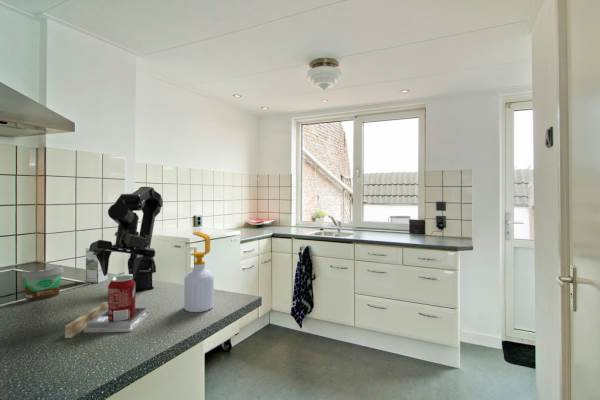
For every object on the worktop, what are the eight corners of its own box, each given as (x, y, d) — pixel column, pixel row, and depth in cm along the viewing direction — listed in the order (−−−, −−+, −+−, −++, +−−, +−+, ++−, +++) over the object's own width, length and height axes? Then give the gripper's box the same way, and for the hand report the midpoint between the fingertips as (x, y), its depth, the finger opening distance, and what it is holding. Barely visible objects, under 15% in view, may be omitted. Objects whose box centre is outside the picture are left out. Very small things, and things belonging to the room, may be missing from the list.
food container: (28, 303, 106) (27, 273, 106) (20, 300, 110) (20, 271, 110) (70, 294, 117) (70, 266, 117) (62, 291, 120) (62, 264, 120)
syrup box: (108, 279, 137) (108, 245, 137) (98, 283, 131) (98, 247, 131) (95, 279, 138) (95, 245, 138) (85, 282, 132) (85, 247, 132)
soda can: (130, 324, 89) (130, 280, 89) (104, 325, 88) (104, 281, 88) (138, 315, 96) (138, 274, 95) (113, 316, 94) (113, 275, 94)
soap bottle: (190, 302, 109) (190, 230, 109) (217, 303, 109) (217, 230, 108) (179, 312, 100) (180, 233, 100) (208, 313, 100) (209, 234, 99)
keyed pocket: (107, 315, 97) (107, 307, 97) (148, 314, 98) (148, 307, 98) (84, 332, 85) (83, 323, 85) (131, 331, 86) (131, 323, 86)
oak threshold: (103, 311, 100) (103, 302, 100) (108, 311, 100) (108, 302, 100) (65, 337, 82) (64, 326, 82) (71, 337, 82) (71, 325, 82)
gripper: (110, 217, 96) (101, 270, 90) (166, 229, 111) (162, 276, 105) (92, 225, 102) (83, 275, 96) (148, 236, 116) (143, 280, 111)
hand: (120, 276), depth 102 cm, fingers open, 9 cm apart
